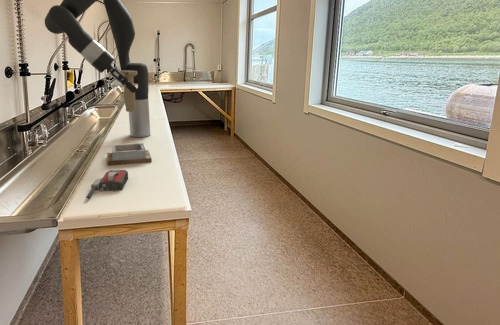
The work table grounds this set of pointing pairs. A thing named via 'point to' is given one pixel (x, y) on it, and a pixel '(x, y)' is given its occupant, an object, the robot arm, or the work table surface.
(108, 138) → the work table surface
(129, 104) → the handle
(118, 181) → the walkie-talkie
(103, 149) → the work table surface
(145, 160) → the board
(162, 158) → the work table surface
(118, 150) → the collar
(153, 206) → the work table surface
